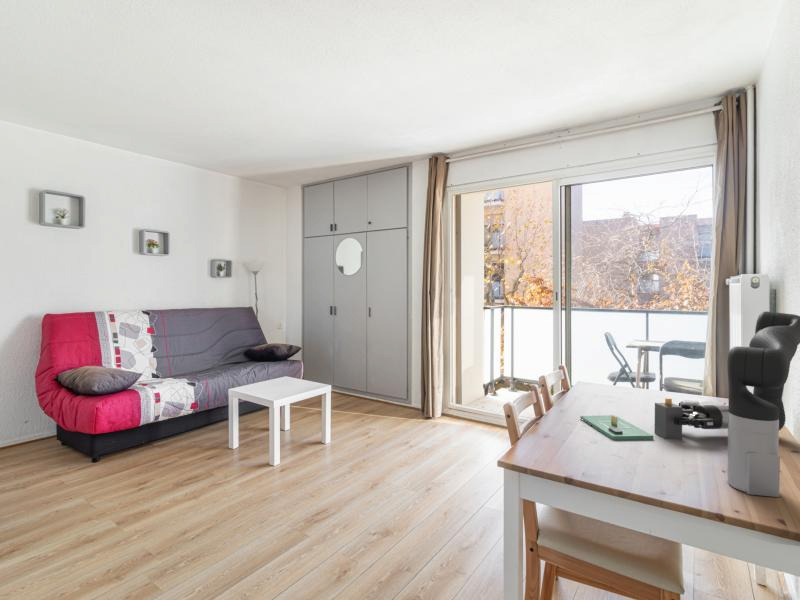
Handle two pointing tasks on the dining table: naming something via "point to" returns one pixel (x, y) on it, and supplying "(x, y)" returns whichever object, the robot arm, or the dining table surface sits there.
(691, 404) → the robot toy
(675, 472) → the dining table surface
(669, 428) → the block
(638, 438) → the header board
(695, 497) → the dining table surface
